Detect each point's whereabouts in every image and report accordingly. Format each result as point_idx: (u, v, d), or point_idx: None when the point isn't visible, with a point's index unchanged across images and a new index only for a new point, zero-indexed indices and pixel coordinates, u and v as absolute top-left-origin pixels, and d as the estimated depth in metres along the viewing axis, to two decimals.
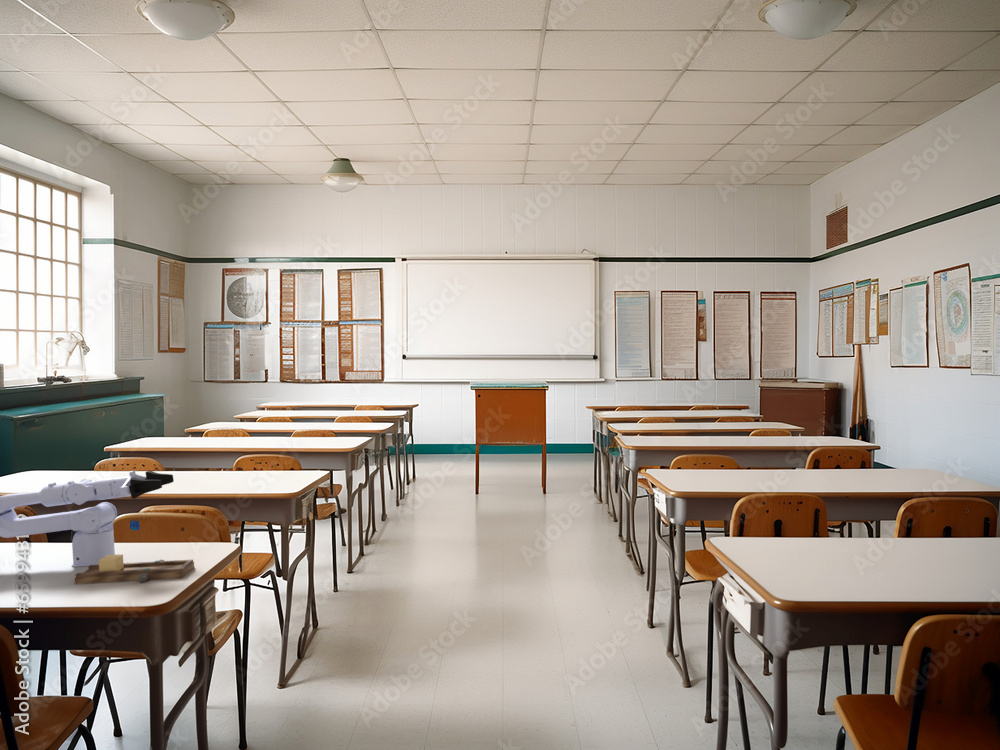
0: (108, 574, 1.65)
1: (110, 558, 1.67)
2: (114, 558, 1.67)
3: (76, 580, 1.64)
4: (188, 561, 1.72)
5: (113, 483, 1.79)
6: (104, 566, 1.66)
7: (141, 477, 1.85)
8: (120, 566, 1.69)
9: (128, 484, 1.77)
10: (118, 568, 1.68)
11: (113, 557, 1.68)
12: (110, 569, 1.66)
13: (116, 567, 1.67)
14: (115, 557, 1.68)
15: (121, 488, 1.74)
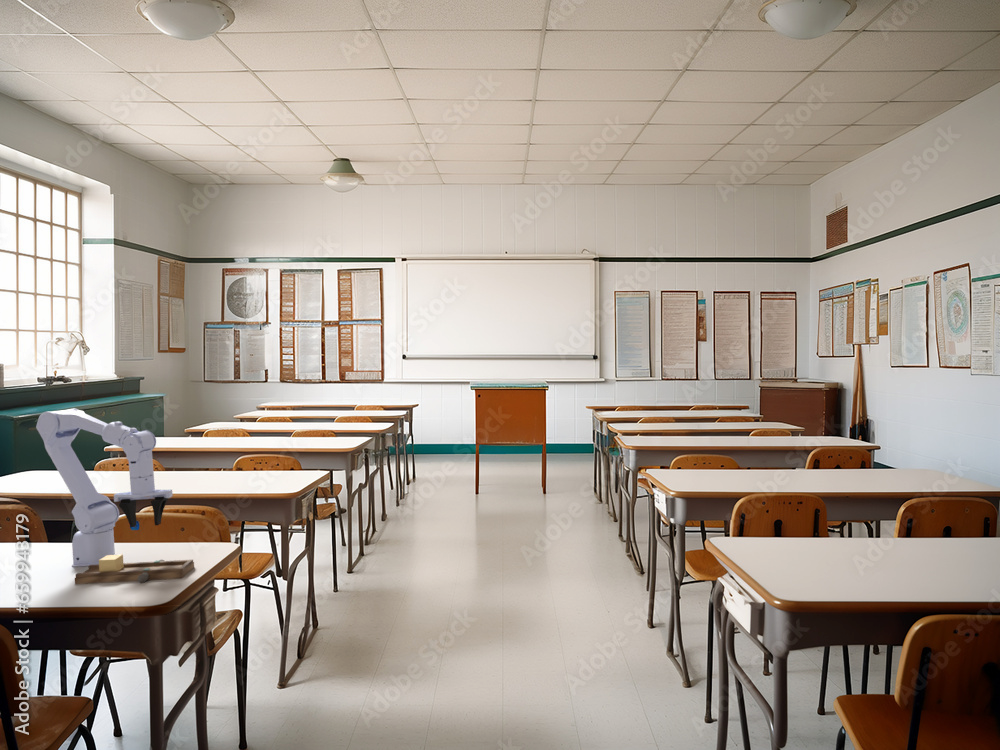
0: (108, 574, 1.65)
1: (110, 558, 1.67)
2: (114, 558, 1.67)
3: (76, 580, 1.64)
4: (188, 561, 1.72)
5: (130, 479, 1.76)
6: (104, 566, 1.66)
7: None
8: (120, 566, 1.69)
9: (126, 496, 1.76)
10: (118, 568, 1.68)
11: (113, 557, 1.68)
12: (110, 569, 1.66)
13: (116, 567, 1.67)
14: (115, 557, 1.68)
15: None
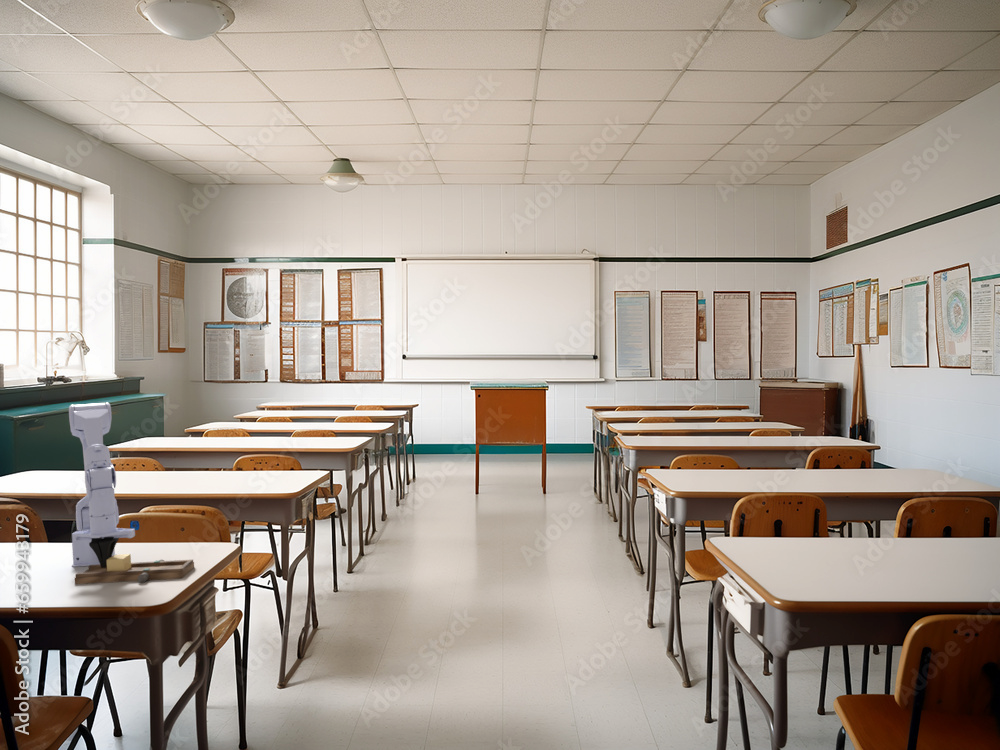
0: (108, 574, 1.65)
1: (117, 557, 1.67)
2: (122, 558, 1.67)
3: (76, 580, 1.64)
4: (188, 561, 1.72)
5: (90, 518, 1.66)
6: (111, 566, 1.66)
7: None
8: (128, 565, 1.69)
9: None
10: (126, 568, 1.68)
11: (120, 556, 1.68)
12: (118, 569, 1.66)
13: (124, 566, 1.67)
14: (123, 557, 1.68)
15: None
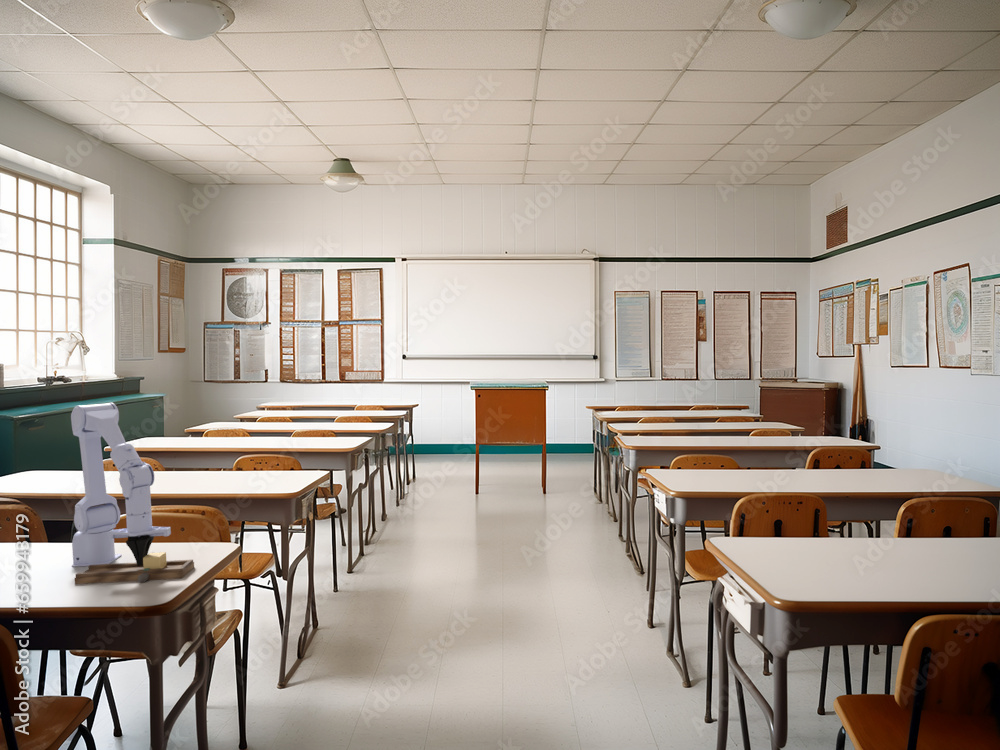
0: (108, 574, 1.65)
1: (153, 556, 1.68)
2: (158, 556, 1.68)
3: (76, 580, 1.64)
4: (188, 561, 1.72)
5: (126, 516, 1.66)
6: (148, 564, 1.67)
7: None
8: (163, 563, 1.70)
9: None
10: (162, 566, 1.69)
11: (156, 554, 1.69)
12: (154, 567, 1.67)
13: (160, 564, 1.68)
14: (159, 555, 1.69)
15: None
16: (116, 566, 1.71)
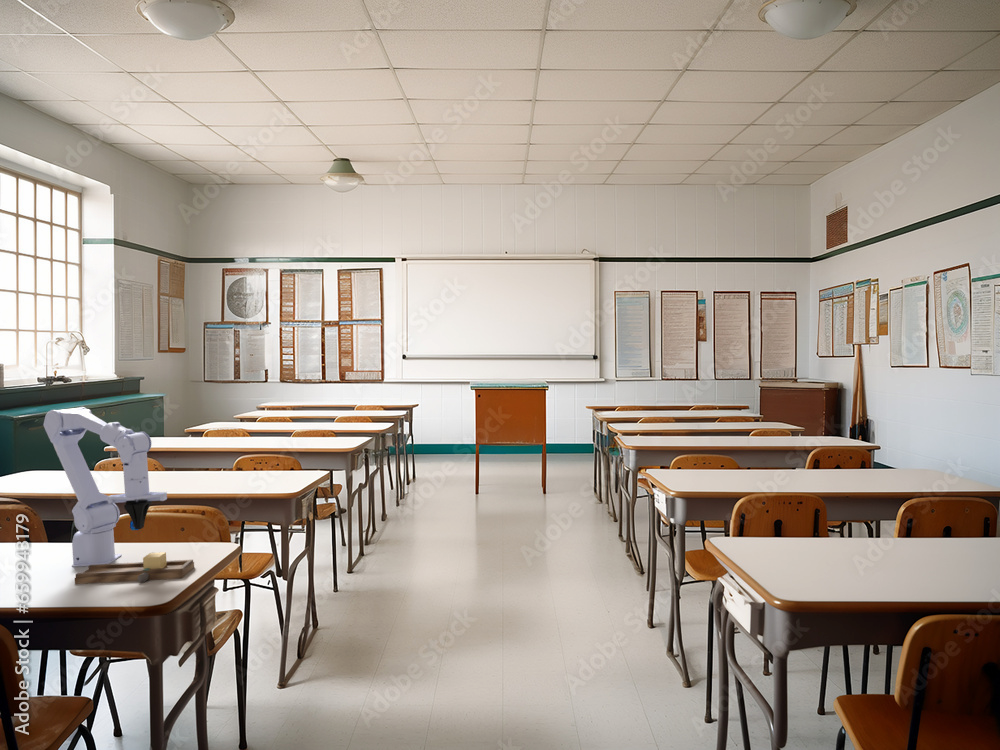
0: (108, 574, 1.65)
1: (153, 556, 1.68)
2: (158, 556, 1.68)
3: (76, 580, 1.64)
4: (188, 561, 1.72)
5: (124, 481, 1.73)
6: (148, 564, 1.67)
7: None
8: (163, 563, 1.70)
9: None
10: (162, 566, 1.69)
11: (156, 554, 1.69)
12: (154, 567, 1.67)
13: (160, 564, 1.68)
14: (159, 555, 1.69)
15: None
16: (116, 566, 1.71)
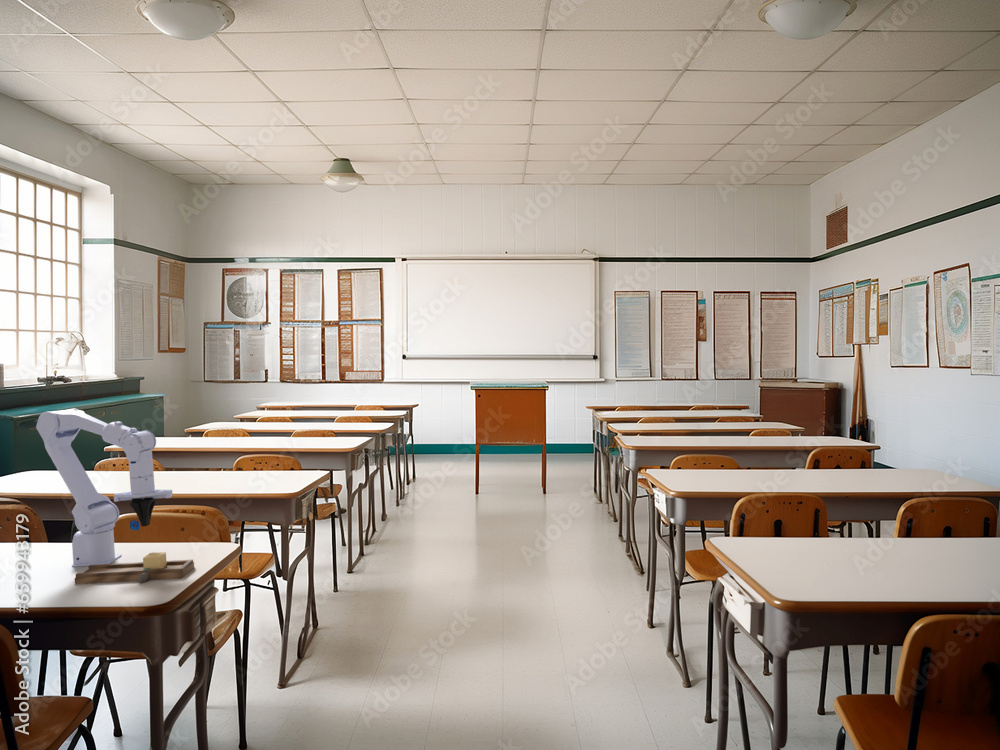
0: (108, 574, 1.65)
1: (153, 556, 1.68)
2: (158, 556, 1.68)
3: (76, 580, 1.64)
4: (188, 561, 1.72)
5: (130, 479, 1.76)
6: (148, 564, 1.67)
7: None
8: (163, 563, 1.70)
9: (126, 496, 1.76)
10: (162, 566, 1.69)
11: (156, 554, 1.69)
12: (154, 567, 1.67)
13: (160, 564, 1.68)
14: (159, 555, 1.69)
15: None
16: (116, 566, 1.71)
